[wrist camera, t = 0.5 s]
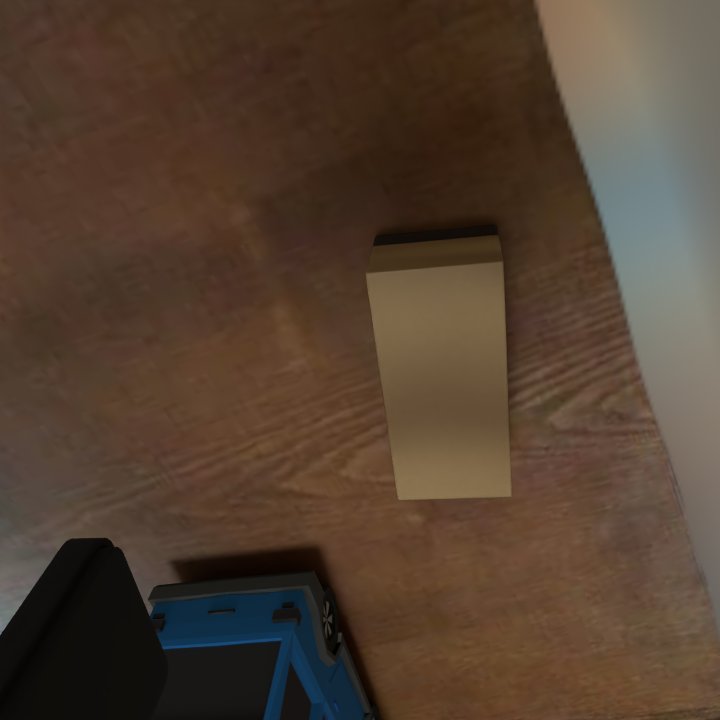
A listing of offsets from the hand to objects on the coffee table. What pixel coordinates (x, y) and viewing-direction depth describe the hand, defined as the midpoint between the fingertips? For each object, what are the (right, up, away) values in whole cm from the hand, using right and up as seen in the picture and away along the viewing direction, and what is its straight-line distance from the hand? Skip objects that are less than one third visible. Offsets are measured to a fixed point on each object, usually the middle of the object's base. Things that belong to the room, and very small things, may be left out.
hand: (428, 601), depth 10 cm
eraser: (+3, +4, +21) cm, 21 cm away
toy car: (-6, -15, +33) cm, 37 cm away
